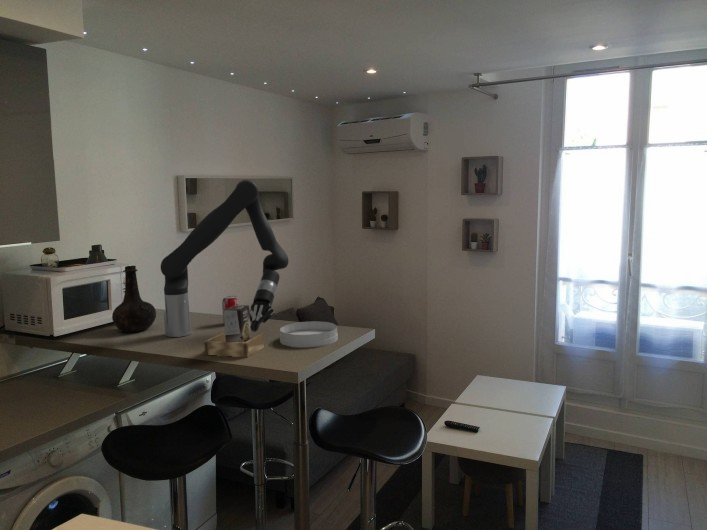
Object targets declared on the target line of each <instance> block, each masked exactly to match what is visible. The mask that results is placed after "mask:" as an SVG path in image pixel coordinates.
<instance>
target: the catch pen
mask: <svg viewBox="0 0 707 530" xmlns="http://www.w3.org/2000/svg"><path fill="white" fill-rule="evenodd" d="M203 342H204V355H205V356H207V355H217V356H216V357H227V356H232V358H249V357H250V355H251V356H252V355H254V354H255V353H257V352H259V351H260V350H262V349H264V348H265V343H264V333H259V334H258V335H256V336H254V337H251V339H250V340H248V341H246V342H226V337H225V332H221V333H219V334H217V335H215V336H213V337H210V338H209V339H207V340H204V341H203Z"/></svg>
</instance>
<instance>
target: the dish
mask: <svg viewBox="0 0 707 530" xmlns="http://www.w3.org/2000/svg"><path fill="white" fill-rule="evenodd" d="M279 334H280V336H279V341H280V344H281V345H283V346H285V345H286V346H285V347H289V346H290V348H316V347H323V346H328V345H331V344H333V343H336V342H337V341H338V339H339V335H338V326H337V324H334V323H333V322H328V321H314V320H313V321H301V322H294V323H289V324H286V325H284V326H281V327H280V329H279Z"/></svg>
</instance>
